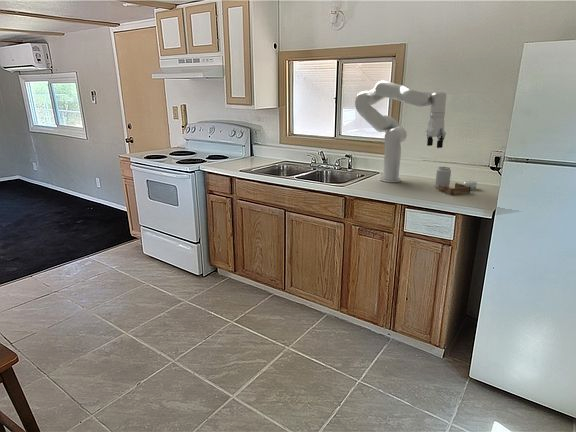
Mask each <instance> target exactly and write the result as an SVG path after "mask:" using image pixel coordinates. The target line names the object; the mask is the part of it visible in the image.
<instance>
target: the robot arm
mask: <svg viewBox="0 0 576 432" xmlns="http://www.w3.org/2000/svg"><path fill="white" fill-rule="evenodd" d="M385 98H386V99H387V98H388V99H392V100H396V101H399V102H402V103H405V104H408V105H412V106H416V107H421V108H422V107H429V106H430V113H429V114H430V115H429V119H428V122H427V128H426V130H425V131H426V136H427V137H426V139H427V140H426V146H428V147H429V146H430V147H431V146H433V144H434V138H437V140H436V148H437V149H441V148H443V147H444V144H443V143H444V140H445V138H446V135H447V133H446V132H445V117H446V116H445V114H446V103H447V93H446V92H445V91H443V92H439V91H438V92H429V91H427V92H426V91H424V92H423V91H417V90H414V89H411V88H408V87H406V86H405V85H402V84H399V83H393V82H391V81H389V80H380V81H378V82H377V83H376V84H375V86H374V88H372V89H371V90H364V91H360V92H359V93H357V95H356V97H355V100H354V105H355V109H356V111H357V113H358V114H359V116H361V118H363V119H364V120H365V121H366V122H367V123H368V124H369V125H371V127H372V128H374V130H375V131H376V132H378V133H385V135H384V138H383V139H384V154H383V155H384V158H383V170H382V172H381V173H380V175H381V177H380V178H379V180H380V181H381V182H385V183H400V182H402V178H401V177H400V168H401V167H400V166H401V156H402V146H401V144H402V142H404V141H405V140H406V139H407V136H408V135H407V131H406V129H405V127H403V126H402V125H401V124H400V123H399V122H398V121H397V120H396V119H395V118H393V117H392V116H390V115H383V114H382V113H380V112H379V111H378V110H377V109H376V108H375V107H373V106H372V105H375V104H377V103H379V102H380V101H383V100H384V99H385Z"/></svg>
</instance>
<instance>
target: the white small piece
mask: <svg viewBox="0 0 576 432" xmlns="http://www.w3.org/2000/svg"><path fill="white" fill-rule="evenodd" d="M462 184H463V185H466V186H469V187H471V190H470V191H476V189H477V185H478V182H477V181H475V180H463V182H462Z"/></svg>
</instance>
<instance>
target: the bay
mask: <svg viewBox="0 0 576 432" xmlns="http://www.w3.org/2000/svg"><path fill="white" fill-rule="evenodd" d="M471 191H472V190H471V187H469V186H466V185H463V183H458V182H455V183H454V187H450V186H449V187H447V186H444V185H439V189H438V192H441V193H444V194H446V195H449V196H459V195H466V194H471Z"/></svg>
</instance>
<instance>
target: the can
mask: <svg viewBox="0 0 576 432" xmlns="http://www.w3.org/2000/svg"><path fill="white" fill-rule="evenodd" d="M435 175H436V176H435V182H434V183H435V185H434V187H435V188H436V189H438V190H439V185H444V186H447V187H450V184H451V183H450V182H451V176H452V170H451V167H449V166H438V168H437V169H436V173H435Z"/></svg>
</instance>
